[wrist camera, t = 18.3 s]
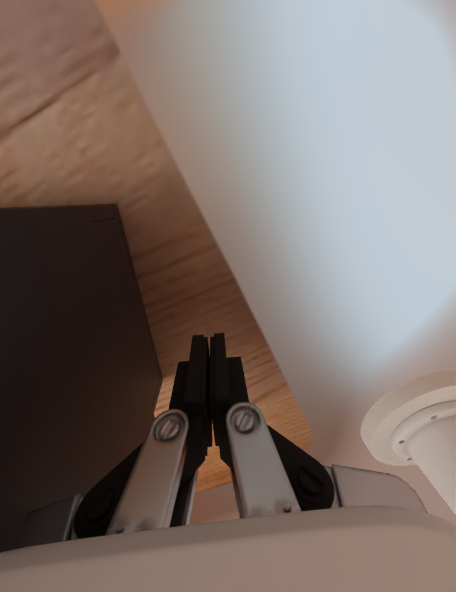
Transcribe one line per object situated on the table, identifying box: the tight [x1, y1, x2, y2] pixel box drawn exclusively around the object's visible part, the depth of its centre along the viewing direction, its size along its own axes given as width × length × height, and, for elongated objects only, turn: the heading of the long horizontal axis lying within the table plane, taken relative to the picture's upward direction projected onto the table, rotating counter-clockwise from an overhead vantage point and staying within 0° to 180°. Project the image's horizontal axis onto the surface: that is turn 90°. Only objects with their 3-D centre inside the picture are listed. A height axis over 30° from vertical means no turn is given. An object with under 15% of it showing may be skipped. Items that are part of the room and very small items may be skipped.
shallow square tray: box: [86, 204, 163, 414], centre depth 14 cm, size 16×16×4 cm
